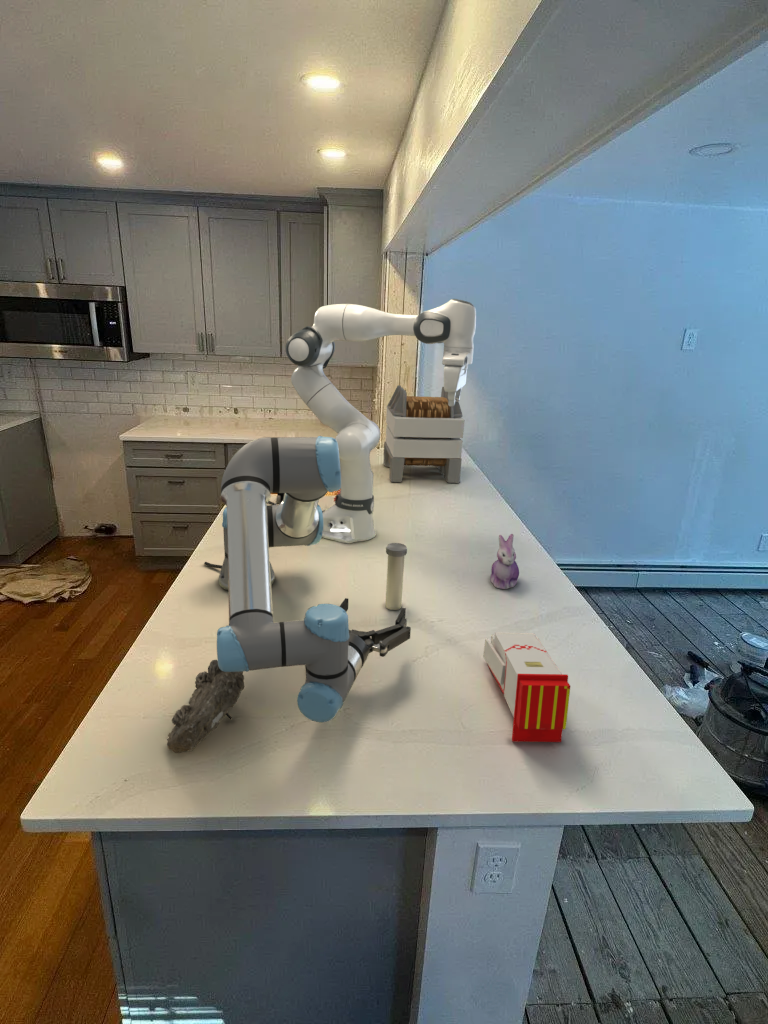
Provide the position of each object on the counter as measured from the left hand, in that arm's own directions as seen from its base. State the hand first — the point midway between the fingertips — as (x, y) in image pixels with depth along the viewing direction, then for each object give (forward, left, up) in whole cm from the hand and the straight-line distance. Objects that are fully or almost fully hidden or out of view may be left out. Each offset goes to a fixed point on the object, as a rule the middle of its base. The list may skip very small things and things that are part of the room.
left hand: (375, 608), depth 130 cm
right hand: (+5, +64, +38) cm, 75 cm away
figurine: (+27, +44, -10) cm, 53 cm away
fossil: (-22, -33, -10) cm, 41 cm away
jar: (0, +20, -10) cm, 22 cm away
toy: (+34, -8, -10) cm, 36 cm away
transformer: (-21, +150, -10) cm, 152 cm away
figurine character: (-60, +84, -10) cm, 104 cm away
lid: (0, +20, +7) cm, 21 cm away
